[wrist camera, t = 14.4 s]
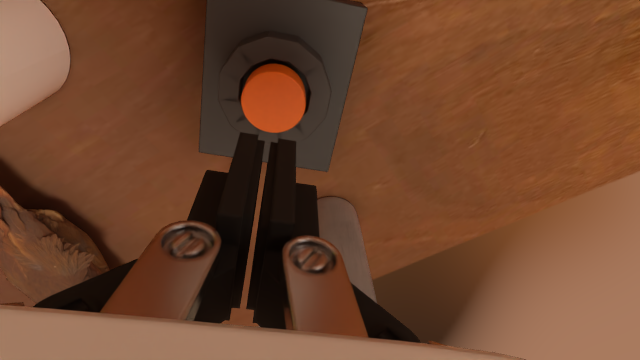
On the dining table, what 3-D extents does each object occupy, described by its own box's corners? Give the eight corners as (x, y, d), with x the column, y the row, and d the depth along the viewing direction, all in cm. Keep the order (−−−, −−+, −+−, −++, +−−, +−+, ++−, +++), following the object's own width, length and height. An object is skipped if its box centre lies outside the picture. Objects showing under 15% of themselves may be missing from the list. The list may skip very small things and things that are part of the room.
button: (247, 57, 22) (244, 65, 21) (310, 69, 23) (311, 78, 21) (241, 116, 24) (237, 127, 23) (299, 126, 25) (299, 138, 23)
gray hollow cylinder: (358, 237, 34) (379, 340, 25) (305, 242, 34) (308, 346, 25) (356, 193, 32) (379, 289, 23) (299, 198, 32) (301, 296, 23)
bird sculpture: (-22, 74, 28) (-94, 87, 23) (188, 321, 36) (165, 367, 31) (-81, 117, 29) (-159, 138, 25) (132, 345, 38) (103, 392, 33)
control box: (215, -29, 23) (200, -25, 20) (362, 3, 25) (373, 12, 21) (204, 138, 29) (192, 165, 25) (326, 157, 30) (329, 185, 27)
